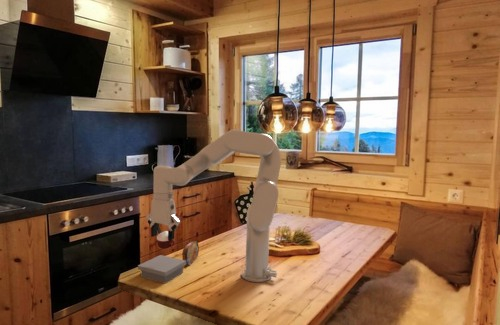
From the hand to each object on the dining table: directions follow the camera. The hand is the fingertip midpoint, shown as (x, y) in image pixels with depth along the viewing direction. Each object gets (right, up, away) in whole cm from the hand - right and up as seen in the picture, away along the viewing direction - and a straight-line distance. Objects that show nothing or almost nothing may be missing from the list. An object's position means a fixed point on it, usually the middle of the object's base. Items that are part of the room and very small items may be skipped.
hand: (162, 237), depth 150 cm
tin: (+9, -15, +17) cm, 24 cm away
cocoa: (+1, -4, 0) cm, 4 cm away
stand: (0, -16, +2) cm, 16 cm away
